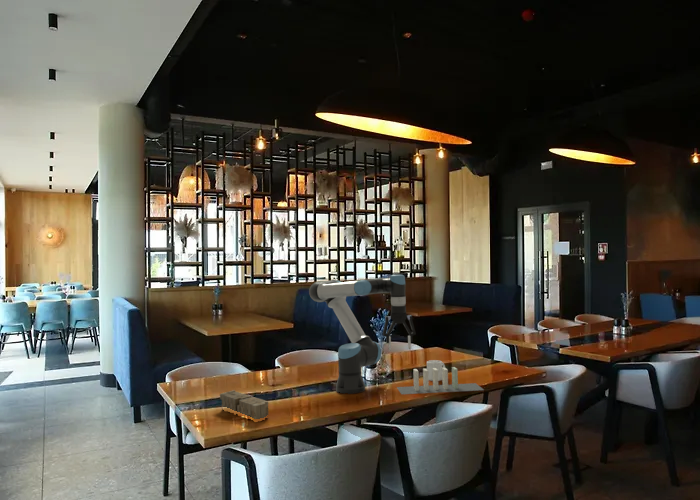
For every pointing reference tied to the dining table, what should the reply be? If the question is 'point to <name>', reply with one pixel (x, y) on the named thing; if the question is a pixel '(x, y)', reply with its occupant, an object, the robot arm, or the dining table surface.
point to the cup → (436, 365)
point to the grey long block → (245, 404)
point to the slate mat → (440, 389)
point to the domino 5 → (454, 378)
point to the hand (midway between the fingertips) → (399, 349)
